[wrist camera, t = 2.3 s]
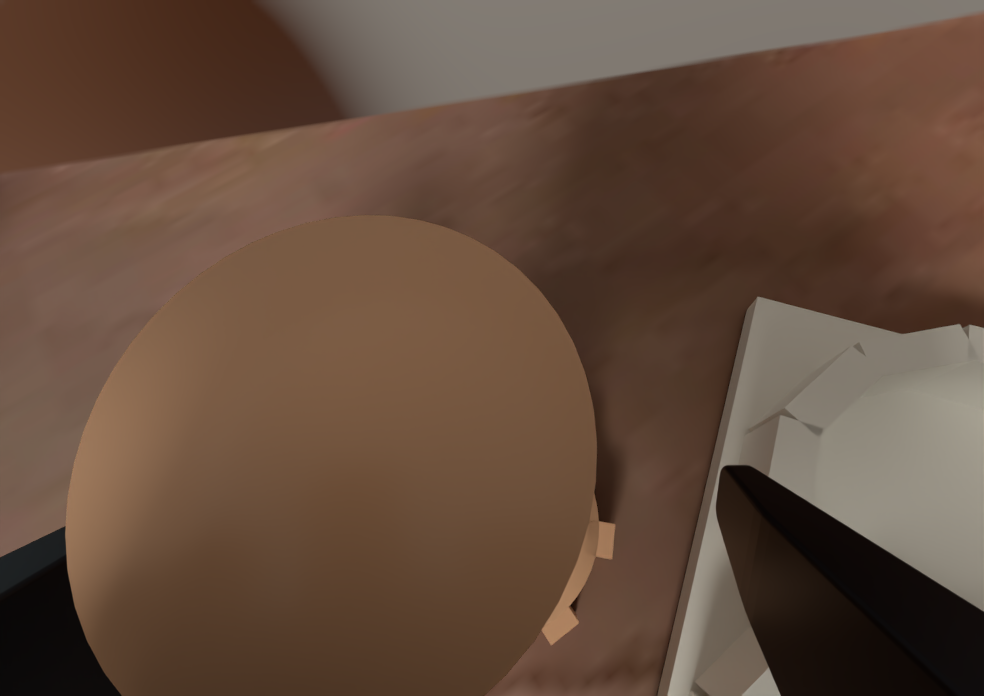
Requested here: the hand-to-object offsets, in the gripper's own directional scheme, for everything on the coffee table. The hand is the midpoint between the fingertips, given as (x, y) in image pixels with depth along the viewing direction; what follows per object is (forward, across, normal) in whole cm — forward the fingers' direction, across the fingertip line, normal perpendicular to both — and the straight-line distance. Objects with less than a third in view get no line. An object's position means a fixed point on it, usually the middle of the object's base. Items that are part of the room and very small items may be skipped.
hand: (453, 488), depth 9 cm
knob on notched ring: (+5, 0, +6) cm, 8 cm away
